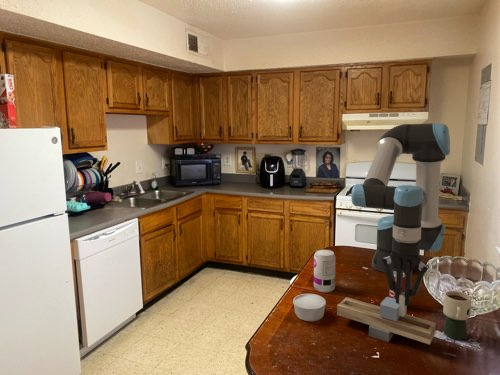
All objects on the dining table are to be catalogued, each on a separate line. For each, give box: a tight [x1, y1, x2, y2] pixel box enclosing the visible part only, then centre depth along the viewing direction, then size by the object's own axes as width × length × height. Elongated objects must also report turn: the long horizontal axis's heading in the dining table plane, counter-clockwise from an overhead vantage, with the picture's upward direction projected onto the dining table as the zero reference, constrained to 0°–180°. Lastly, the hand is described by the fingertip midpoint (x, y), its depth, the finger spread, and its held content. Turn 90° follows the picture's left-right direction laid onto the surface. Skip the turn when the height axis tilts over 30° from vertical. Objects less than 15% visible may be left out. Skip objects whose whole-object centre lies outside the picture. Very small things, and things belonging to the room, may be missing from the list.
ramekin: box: [292, 293, 327, 322], centre depth 126 cm, size 11×11×5 cm
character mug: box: [442, 290, 472, 340], centre depth 112 cm, size 11×7×13 cm, turn 158°
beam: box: [336, 296, 437, 346], centre depth 115 cm, size 9×28×6 cm, turn 52°
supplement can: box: [313, 249, 337, 293], centre depth 145 cm, size 8×8×15 cm
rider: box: [379, 296, 400, 321], centre depth 113 cm, size 6×5×6 cm
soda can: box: [388, 271, 406, 299], centre depth 131 cm, size 5×5×12 cm
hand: (402, 314), depth 111 cm, fingers closed
